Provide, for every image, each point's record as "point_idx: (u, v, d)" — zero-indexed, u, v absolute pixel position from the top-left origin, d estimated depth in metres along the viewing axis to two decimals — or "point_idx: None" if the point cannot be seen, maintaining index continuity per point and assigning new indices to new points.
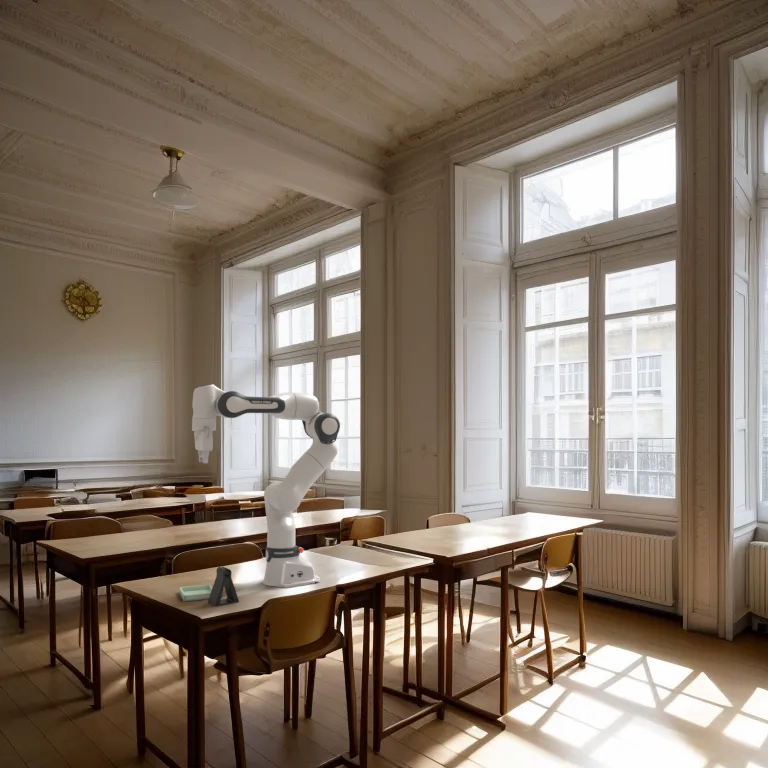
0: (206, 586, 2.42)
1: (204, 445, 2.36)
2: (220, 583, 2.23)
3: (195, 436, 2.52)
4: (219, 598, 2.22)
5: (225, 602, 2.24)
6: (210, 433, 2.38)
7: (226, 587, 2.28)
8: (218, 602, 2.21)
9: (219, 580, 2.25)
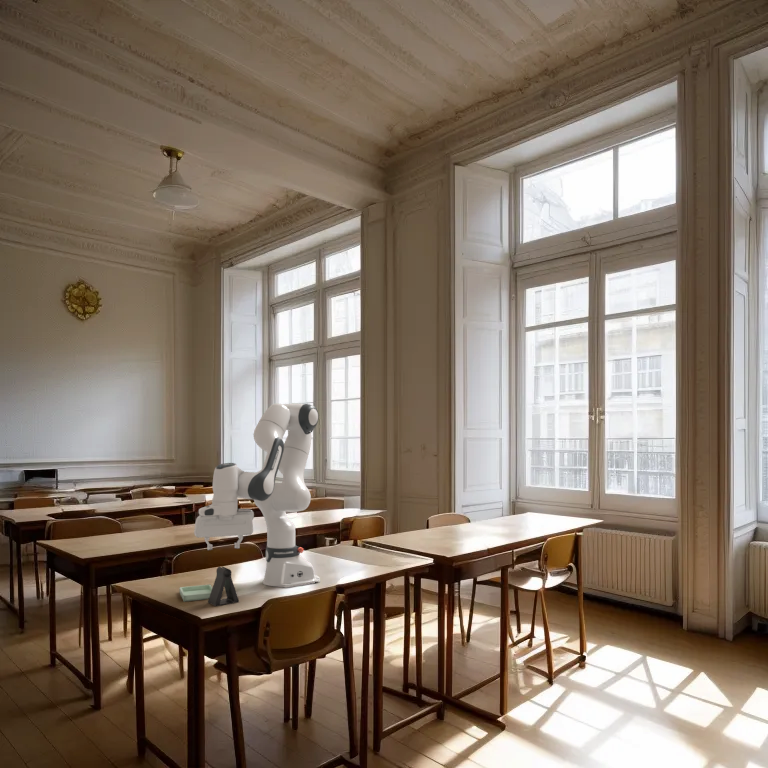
0: (206, 586, 2.42)
1: None
2: (220, 583, 2.23)
3: (202, 522, 2.22)
4: (219, 598, 2.22)
5: (225, 602, 2.24)
6: None
7: (226, 587, 2.28)
8: (218, 602, 2.21)
9: (219, 580, 2.25)
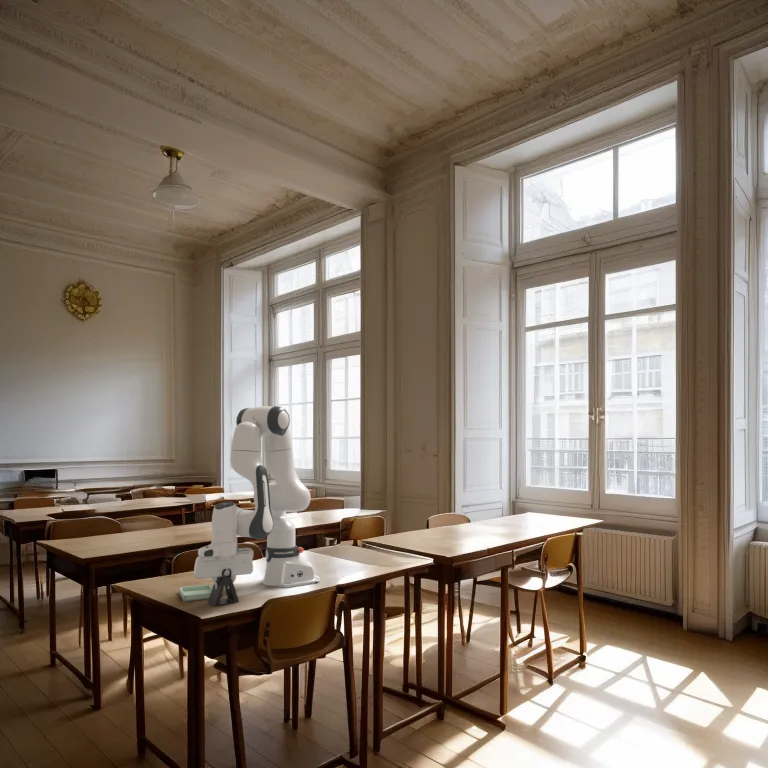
0: (206, 586, 2.42)
1: None
2: (220, 583, 2.23)
3: (202, 563, 2.21)
4: (219, 598, 2.22)
5: (225, 602, 2.24)
6: None
7: (226, 587, 2.28)
8: (218, 602, 2.21)
9: (219, 580, 2.25)
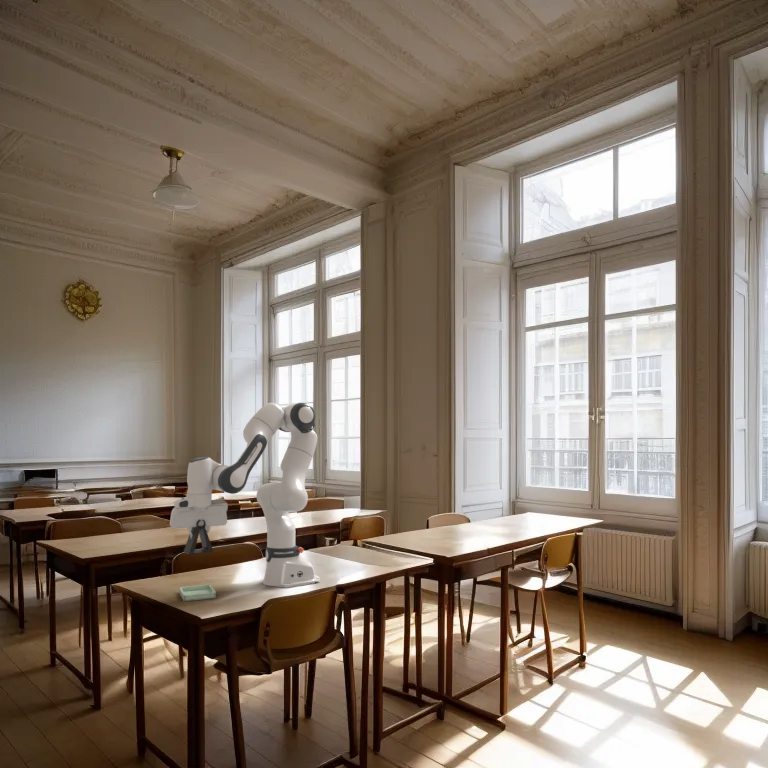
0: (206, 586, 2.42)
1: (226, 519, 2.40)
2: (194, 533, 2.34)
3: (177, 513, 2.32)
4: (193, 547, 2.32)
5: (199, 551, 2.35)
6: None
7: (201, 538, 2.38)
8: (192, 551, 2.32)
9: (194, 530, 2.35)
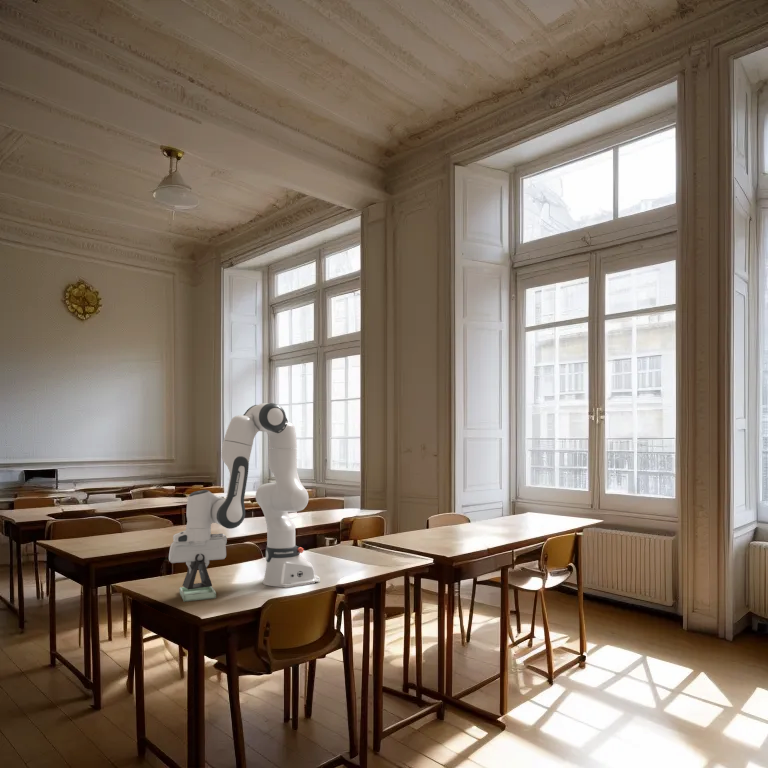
0: None
1: None
2: (193, 567, 2.33)
3: (176, 548, 2.31)
4: (192, 582, 2.31)
5: (198, 586, 2.34)
6: None
7: (200, 572, 2.37)
8: (191, 585, 2.31)
9: (193, 565, 2.34)
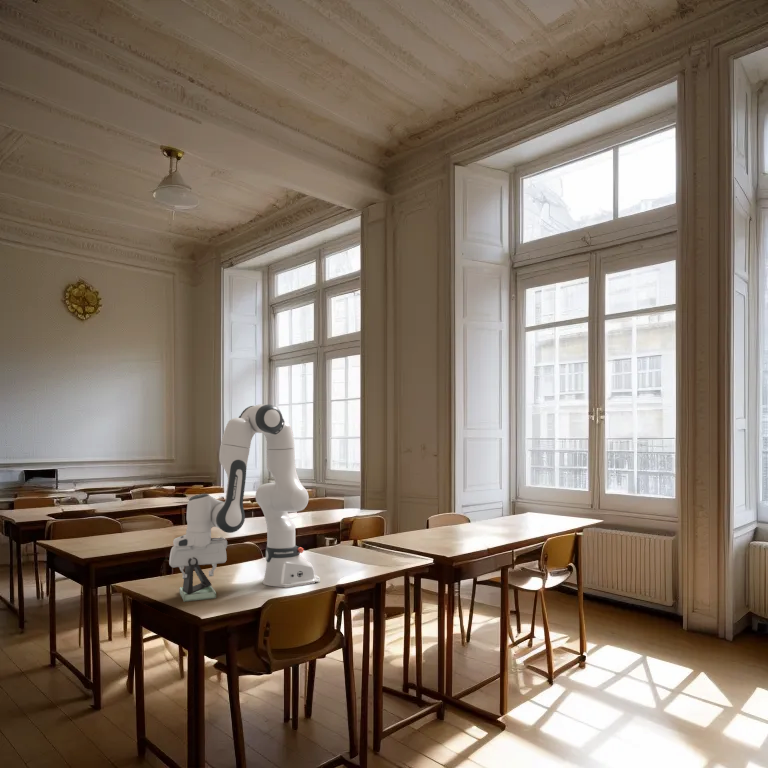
0: None
1: (226, 556, 2.39)
2: (189, 572, 2.32)
3: (177, 552, 2.31)
4: (190, 586, 2.31)
5: (198, 588, 2.34)
6: None
7: (197, 573, 2.37)
8: (190, 590, 2.31)
9: (188, 569, 2.34)
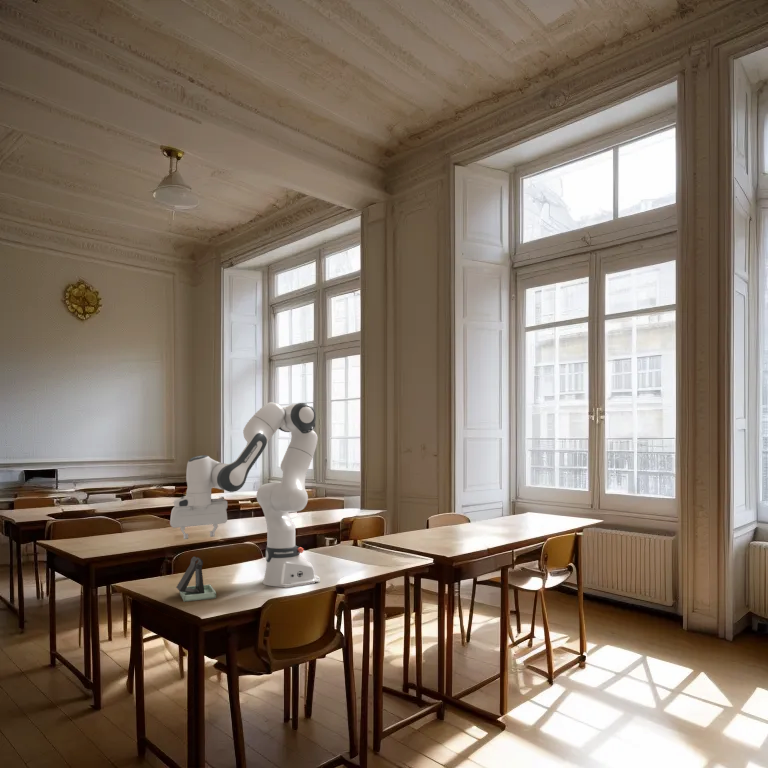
0: (206, 586, 2.42)
1: None
2: (190, 571, 2.34)
3: (177, 513, 2.32)
4: (185, 585, 2.32)
5: (191, 590, 2.34)
6: None
7: (196, 577, 2.38)
8: (184, 588, 2.32)
9: (190, 568, 2.36)
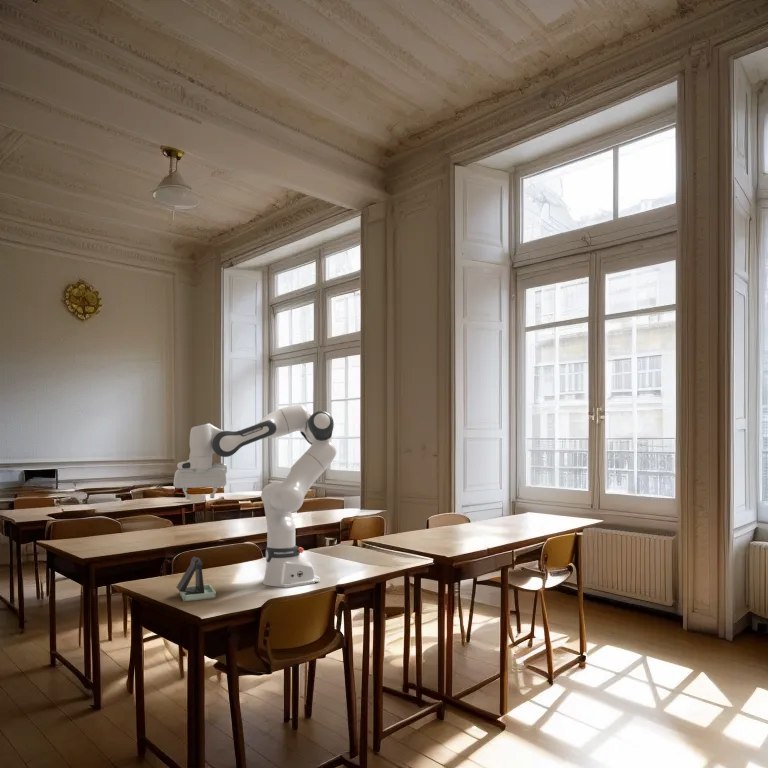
0: (206, 586, 2.42)
1: None
2: (190, 571, 2.34)
3: (180, 474, 2.51)
4: (185, 585, 2.32)
5: (191, 590, 2.34)
6: None
7: (196, 577, 2.38)
8: (184, 588, 2.32)
9: (190, 568, 2.36)
